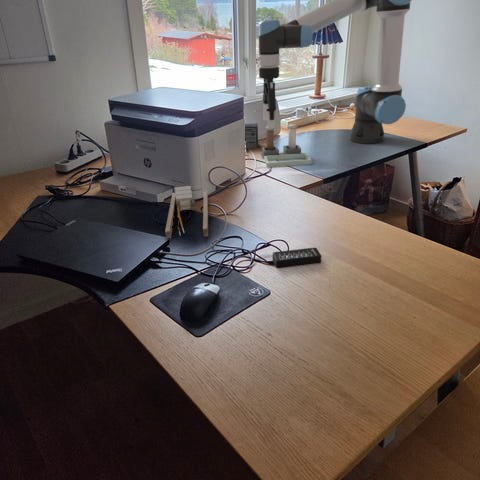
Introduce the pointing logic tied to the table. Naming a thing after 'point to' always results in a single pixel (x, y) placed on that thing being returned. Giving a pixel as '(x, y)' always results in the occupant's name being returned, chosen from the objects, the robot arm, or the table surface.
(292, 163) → the parts tray
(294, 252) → the multiport hub
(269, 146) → the fuse
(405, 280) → the table surface
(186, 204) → the electrical component
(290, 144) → the fuse
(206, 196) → the cable rest strips
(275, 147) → the fuse block
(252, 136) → the small box
